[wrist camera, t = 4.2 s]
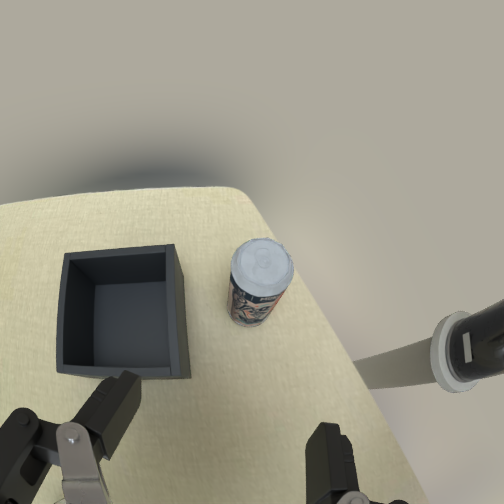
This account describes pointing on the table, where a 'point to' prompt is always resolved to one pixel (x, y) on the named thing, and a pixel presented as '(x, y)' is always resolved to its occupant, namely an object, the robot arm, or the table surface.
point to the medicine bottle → (61, 501)
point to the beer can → (257, 280)
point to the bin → (122, 314)
